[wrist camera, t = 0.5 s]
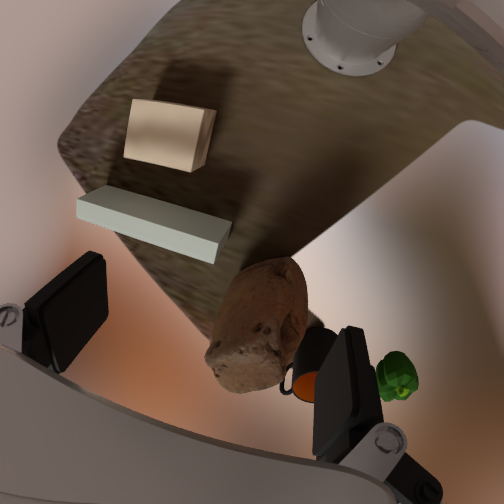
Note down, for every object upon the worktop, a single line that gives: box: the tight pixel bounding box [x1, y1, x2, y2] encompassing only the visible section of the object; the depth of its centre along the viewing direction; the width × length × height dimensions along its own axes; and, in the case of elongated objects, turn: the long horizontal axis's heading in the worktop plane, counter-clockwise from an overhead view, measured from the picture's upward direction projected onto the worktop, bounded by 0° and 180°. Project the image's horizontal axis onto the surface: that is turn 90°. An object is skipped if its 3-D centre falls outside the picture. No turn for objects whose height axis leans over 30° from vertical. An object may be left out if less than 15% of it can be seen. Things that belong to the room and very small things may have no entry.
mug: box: [280, 327, 338, 403], centre depth 48 cm, size 8×12×10 cm
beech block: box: [124, 99, 217, 172], centre depth 38 cm, size 8×10×6 cm
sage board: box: [76, 185, 232, 264], centre depth 42 cm, size 3×22×8 cm, turn 75°
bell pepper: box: [376, 351, 419, 402], centre depth 47 cm, size 8×8×10 cm
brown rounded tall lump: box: [204, 257, 308, 394], centre depth 39 cm, size 11×8×20 cm
